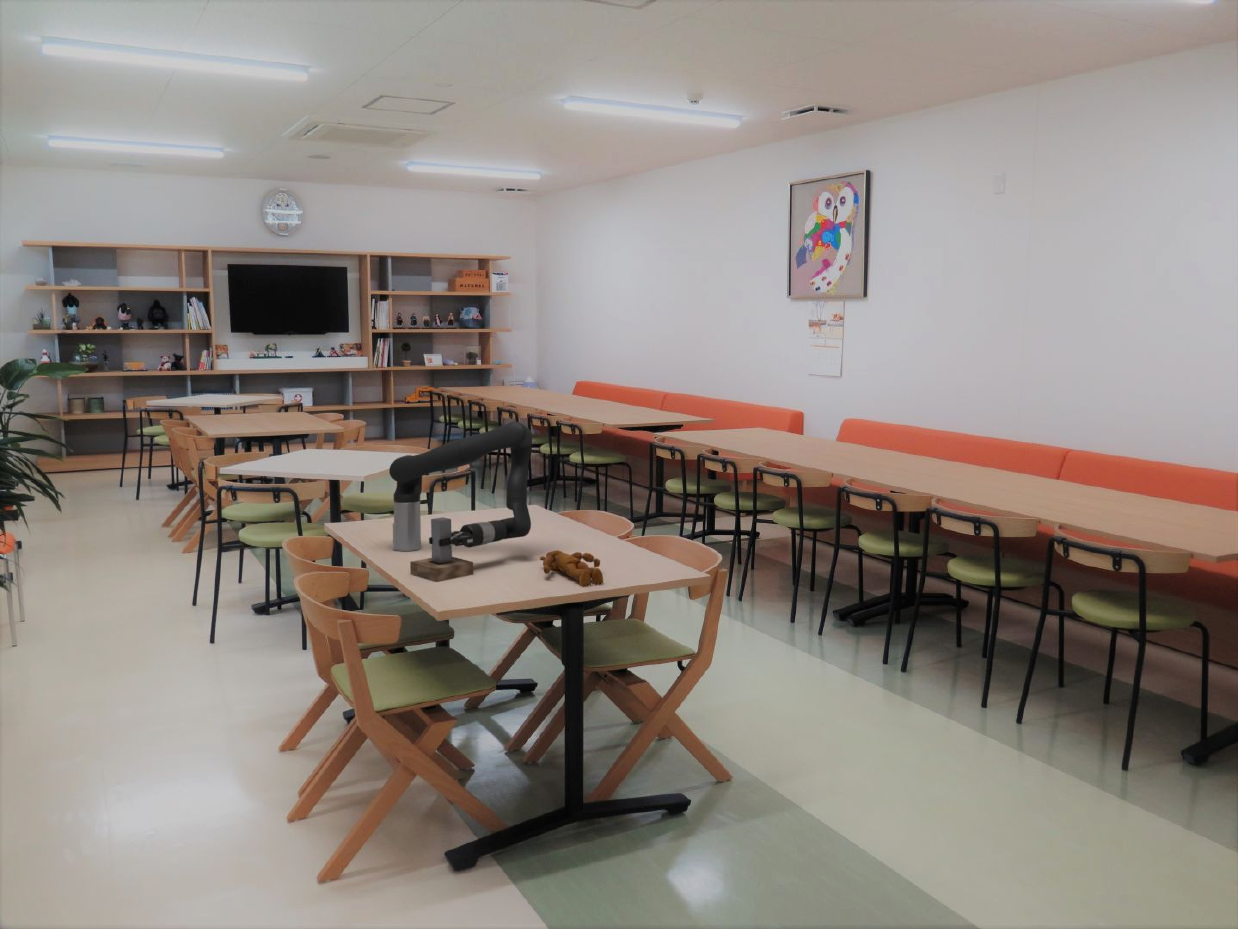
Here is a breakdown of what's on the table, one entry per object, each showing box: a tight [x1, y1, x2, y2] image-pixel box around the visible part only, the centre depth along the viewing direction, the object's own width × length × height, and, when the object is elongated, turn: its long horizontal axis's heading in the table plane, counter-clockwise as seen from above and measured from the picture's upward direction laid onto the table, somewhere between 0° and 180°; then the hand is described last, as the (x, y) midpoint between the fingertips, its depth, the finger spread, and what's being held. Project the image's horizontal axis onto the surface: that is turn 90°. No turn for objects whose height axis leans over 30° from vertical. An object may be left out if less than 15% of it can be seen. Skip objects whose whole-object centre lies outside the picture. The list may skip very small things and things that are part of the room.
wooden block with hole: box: [409, 556, 474, 583], centre depth 312 cm, size 14×14×4 cm
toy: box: [539, 550, 604, 587], centre depth 312 cm, size 20×7×30 cm
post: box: [430, 516, 453, 565], centre depth 311 cm, size 4×4×16 cm
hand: (434, 542), depth 309 cm, fingers closed on post, 4 cm apart
